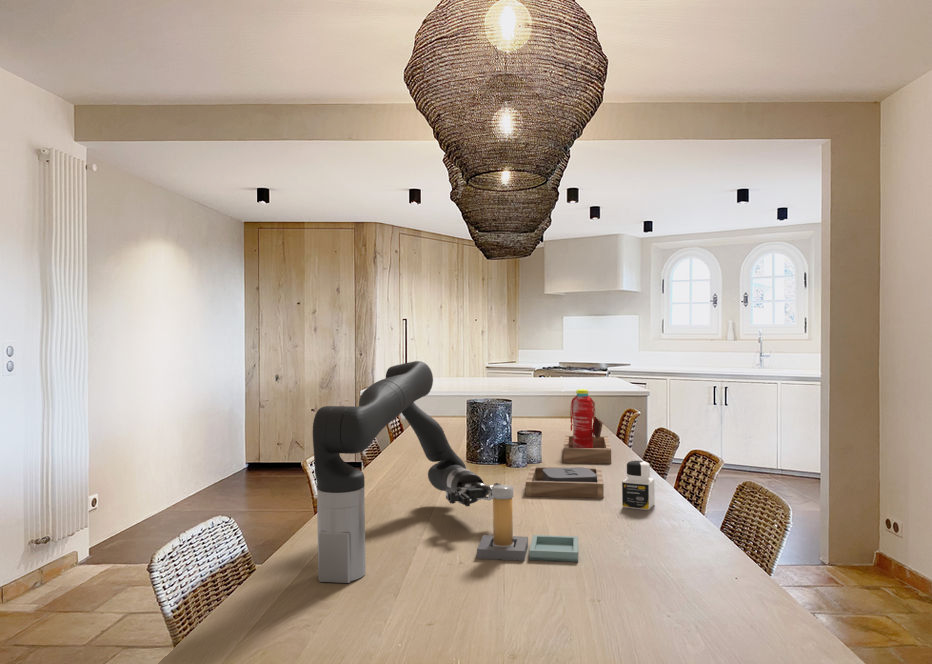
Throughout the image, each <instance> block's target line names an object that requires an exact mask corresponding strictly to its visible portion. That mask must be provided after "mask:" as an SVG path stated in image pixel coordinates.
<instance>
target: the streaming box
mask: <svg viewBox="0 0 932 664" xmlns="http://www.w3.org/2000/svg"><path fill="white" fill-rule="evenodd" d="M588 468H589V467H584V466H583V467H582V466H581V467H579V466H578V467H576V466H575V467H573V466H572V467H567V468H546V469H543V481H563V482H597V475H596V474H595V473H594V472H593V471H591V470H590V469H588Z"/></svg>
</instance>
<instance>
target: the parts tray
mask: <svg viewBox="0 0 932 664" xmlns="http://www.w3.org/2000/svg"><path fill="white" fill-rule="evenodd" d="M539 560H543V561H545V562H564V563H565V562H566V563H567V562H569V563H570V562H571V563H579V536H576V535H575V536H573V535H571V536H570V535H548V534H547V535H546V534H544V535H543V534H532V537H531V542H530V547H529V561H539ZM543 561H542V562H543Z"/></svg>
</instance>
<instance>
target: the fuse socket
mask: <svg viewBox="0 0 932 664" xmlns="http://www.w3.org/2000/svg"><path fill="white" fill-rule="evenodd" d="M513 542H514V547H495V546H493V534H492V535H491V534H490V535H489V534H483V536H482V537H481V539H480V541H479V544H478V546H477V547H476V559H481V560H482V559H483V560H498V559H502V561H525V560H526V556H527V551H528V549H529V536H519V535H518V536H516V535H513Z"/></svg>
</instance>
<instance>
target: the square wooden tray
mask: <svg viewBox="0 0 932 664" xmlns="http://www.w3.org/2000/svg"><path fill="white" fill-rule="evenodd" d="M546 468H568V466H567V467H563V466H562V467H559V466H531V467H530V469H529V472H528V474H527V478H526V480H525V496H526V497H530V496H531V497H556V498H557V497H558V498H559V497H563V498H564V497H566V498H592V499H593V498H597V499H598V498H599V499H600V498H602V499H604V497H605V496H604V494H605V491H604V479H603V471H602V468H601V467H600V468H599V467H587V468H588V469H590V470H591V471H593V472H594V473H595V474H596V475H597V482H563V481H543V469H546Z"/></svg>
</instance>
